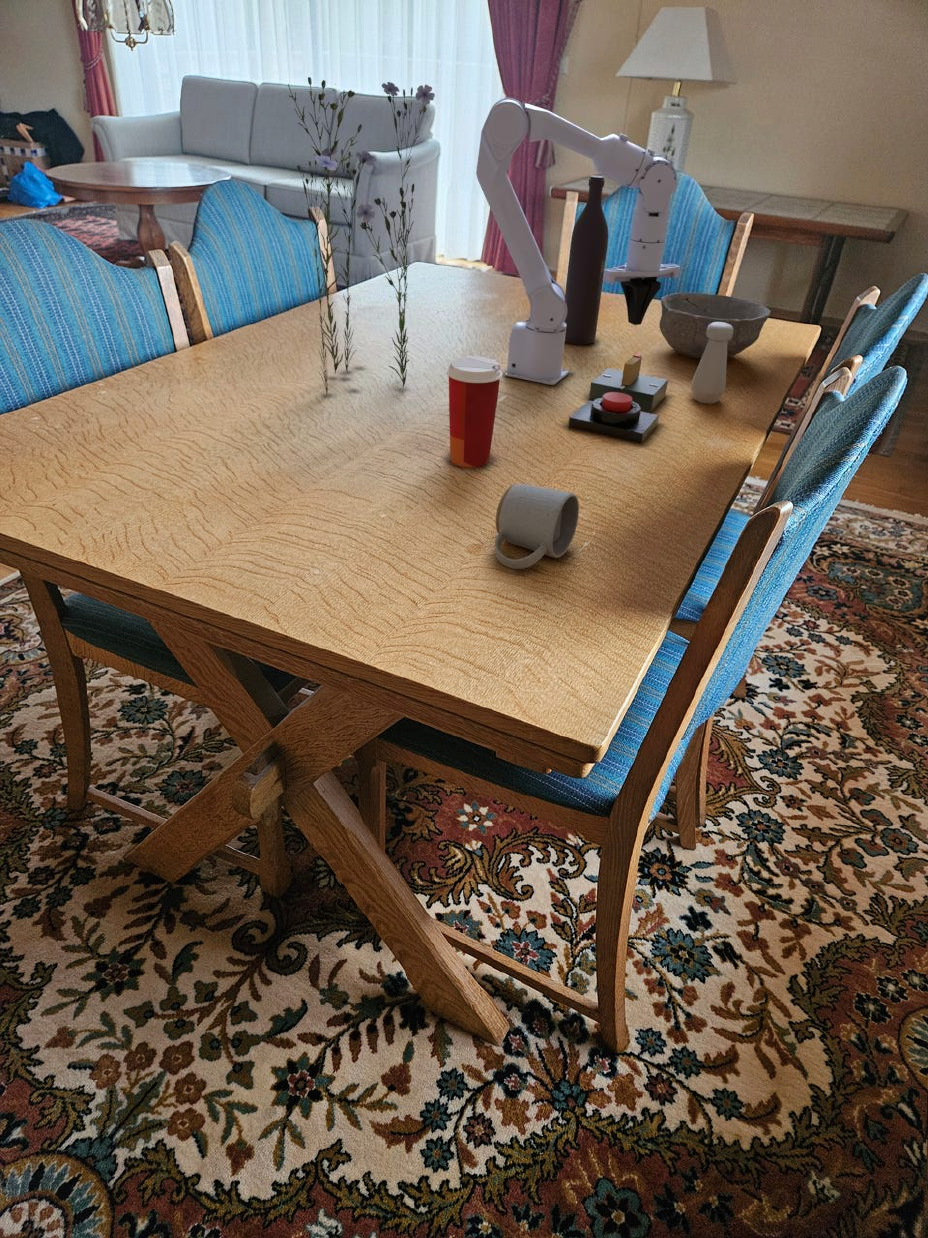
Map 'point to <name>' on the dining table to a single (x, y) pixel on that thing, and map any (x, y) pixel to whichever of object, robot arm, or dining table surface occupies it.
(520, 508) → the ceramic mug
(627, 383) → the dimmer knob
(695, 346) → the bowl
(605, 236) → the wine bottle
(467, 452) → the paper cup
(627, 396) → the light button
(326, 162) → the wildflower
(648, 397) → the panel
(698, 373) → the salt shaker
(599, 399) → the switch box
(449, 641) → the dining table surface
